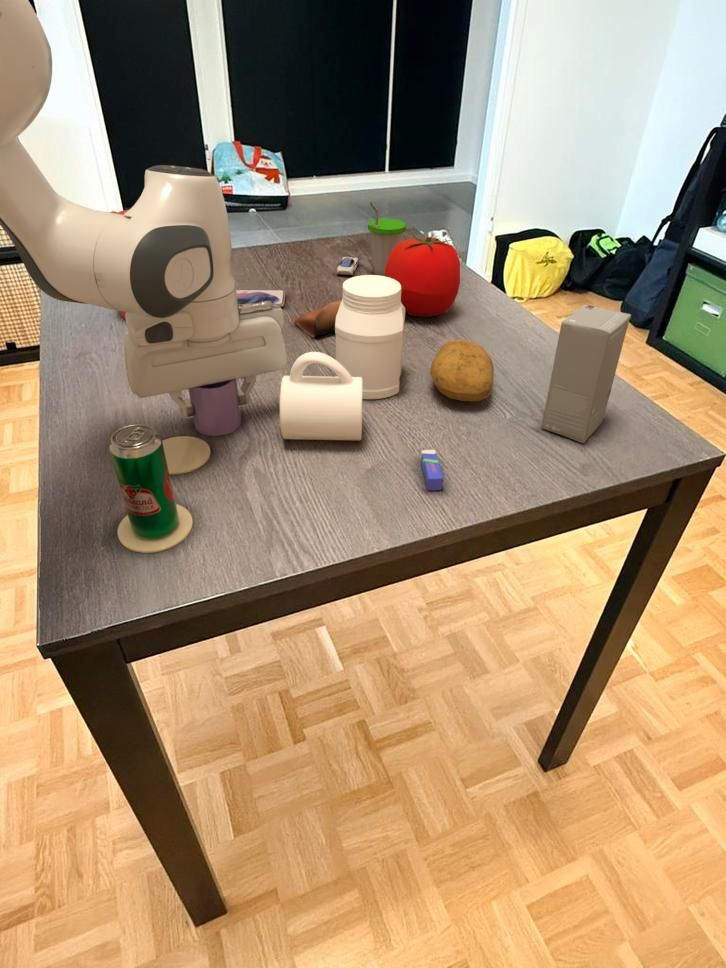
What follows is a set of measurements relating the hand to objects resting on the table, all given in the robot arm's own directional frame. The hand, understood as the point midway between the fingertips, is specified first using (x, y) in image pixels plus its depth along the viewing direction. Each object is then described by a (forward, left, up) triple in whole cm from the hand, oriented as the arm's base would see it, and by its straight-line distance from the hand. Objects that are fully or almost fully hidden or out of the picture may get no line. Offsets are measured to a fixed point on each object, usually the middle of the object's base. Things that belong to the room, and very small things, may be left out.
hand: (215, 408), depth 84 cm
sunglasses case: (+28, +27, -3) cm, 39 cm away
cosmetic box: (+47, -15, -3) cm, 49 cm away
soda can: (-10, -19, -2) cm, 22 cm away
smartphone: (+12, +41, -2) cm, 43 cm away
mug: (+13, -7, -3) cm, 15 cm away
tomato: (+43, +28, -2) cm, 51 cm away
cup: (+43, +47, -3) cm, 64 cm away
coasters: (-8, -12, -2) cm, 15 cm away
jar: (+24, +5, -2) cm, 25 cm away
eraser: (+23, -20, -3) cm, 31 cm away
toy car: (+37, +53, -2) cm, 65 cm away
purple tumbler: (0, 0, -2) cm, 2 cm away
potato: (+36, -2, -3) cm, 36 cm away
